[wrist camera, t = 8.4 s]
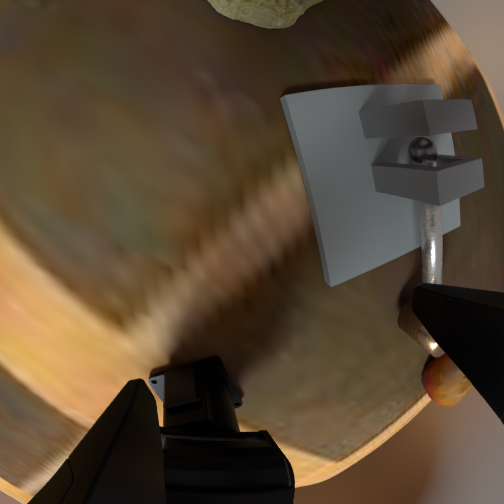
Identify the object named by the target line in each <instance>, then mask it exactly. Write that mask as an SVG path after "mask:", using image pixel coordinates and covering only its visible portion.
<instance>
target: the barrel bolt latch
mask: <svg viewBox="0 0 504 504" xmlns="http://www.w3.org/2000/svg"><path fill="white" fill-rule="evenodd" d="M280 101H281V104H282V107H283V110H284V114H285V117H286V120H287V124H288V127H289V130H290V134H291V137H292V141H293V145H294V148H295V152H296V156H297V159H298V163H299V167H300V171H301V174H302V178H303V182H304V186H305V190H306V194H307V199H308V203H309V207H310V211H311V216H312V220H313V224H314V229H315V233H316V238H317V243H318V248H319V252H320V257H321V262H322V267H323V272H324V278H325V282H326V283H327V284H328V285H329V286H330V287H333V286H335V285H338V284H340V283H342V282H345V281H347V280H349V279H351V278H354V277H356V276H358V275H361V274H363V273H365V272H367V271H369V270H372V269H374V268H376V267H378V266H380V265H383V264H385V263H387V262H389V261H391V260H393V259H395V258H397V257H400V256H402V255H404V254H406V253H408V252H410V251H412V250H414V249H416V248H418V247H420V246H421V229H420V216H419V205H418V201H420V202H424V203H429V204H433V205H436V206H441V211H442V233H443V235H444V234H446V233H447V232H449V231H451V230H453V229H455V228H457V227H459V226H460V204H459V198H461V197H463V196H465V195H467V194H470V193H472V192H474V191H477V190H479V189H481V188H483V187H484V176H483V165H482V158H474V157H464V156H455V154H454V147H453V141H452V136H451V132H458V131H466V130H474V129H477V124H476V119H475V114H474V109H473V105H472V101H471V100H459V99H443V95H442V91H441V88H440V85H434V84H380V85H362V86H350V87H339V88H330V89H322V90H314V91H307V92H301V93H295V94H289V95H284V96H283V97H281V98H280ZM417 137H425V138H428V139H430V140H431V141H432V142H433V143H434V144H435V146H436V148H437V153H438V155H437V160H436V163H437V167H434V166H424V165H413V162H412V161H411V159H410V157H409V153H408V148H409V145H410V143H411V141H412V140H413V139H415V138H417Z"/></svg>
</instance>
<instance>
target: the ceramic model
mask: <svg viewBox="0 0 504 504" xmlns="http://www.w3.org/2000/svg"><path fill="white" fill-rule="evenodd" d="M207 1H208V2H209V3H210V4H211V5H212V6H213V7H214V8H215V9H216V11H217V12H219V13H221V14H223V15H224V16H227V17H229V18H231V19H236V20H240V21H242V22H247V23H251V24H253V25H255V26H260V27H264V28H269V29H272V28H273V29H276V28H278V29H280V28H288V27H290V26H292V25H294V24H295V22H296V21H297V19H298V17H299V16H300V15H303V14H304V12H305V10H307V9H308V8H309V7H311V6H312V5H315V4H317V3H319V2H321V1H323V0H207Z"/></svg>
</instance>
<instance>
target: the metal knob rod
mask: <svg viewBox="0 0 504 504" xmlns="http://www.w3.org/2000/svg"><path fill="white" fill-rule="evenodd" d="M408 153H409V157H410V159H411V161H412V162H413V165H424V166H434V167H437V163H436V160H437V155H438V153H437V148H436V146H435V144H434V143H433V142H432V141H431V140H430V139H428V138H425V137H417V138H415V139H413V140H412V141H411V143H410V145H409V148H408ZM418 205H419V216H420V229H421V249H422V283H432V284H440V285H442V267H443V233H442V211H441V206H436V205H433V204H429V203H424V202H420V201H418ZM412 300H413V298H411V299H409V300H408V301H407V302H406V303H405V304H404V306H403V307H402V309H401V311H400V313H399V316H398V326H399V327H400V328H401V329H402V330H403V331H404V332H405V333H407V334H408V335H409V336H410V337H411V338H413V339H414V340H415V341H416V342H417V343H418V344H420V345H421V346H422V347H423V348H424V349H425V350H427V351H428V352H429V353H430V354H431V355H432V356H434V357H440V356H442V355H443V354H444V353H445V352H444V351H443V350H442V349H441V348H440V347H439V346H438V344H437V343H436V342H435V341H434V339H433V338H432V337H431V335H430V334H429V333H428V331H427V330H426V329H425V327H424V326H423V325H422V323H421V322H420V321H419V320H418V318H417V317H416V316H415V314H414V313H413V310H412Z"/></svg>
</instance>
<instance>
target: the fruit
mask: <svg viewBox="0 0 504 504" xmlns="http://www.w3.org/2000/svg"><path fill="white" fill-rule="evenodd" d="M421 381H422V384H423V386H424V388H425V390H426V392H427V394H428V395H429V397H430V398H431V399H432V400H433V401H434V402H436V403H438V404H440V405H443V406H453V405H455V404H457V403H458V402H460V401H461V399H462V398H463V397H464V396H465V395H466V394H467V393H468V391H469V389H470V388H471V386H472V384H471V382H470V381H469V380H468V379H467V378H466V376H465V375H464V374H463V373H462V372H461V371H460V369H459V368H458V367H457V366H456V365H455V364H454V363H453V361H452V360H451V359H450V358H449V357H448V356H447V355H446V353H444V354H443V355H442V356H440V357H435V358H434V359H433V360H432V361H430V362H429V363H428V364H427V366H426V367H425V369H424V372H423V375H422V379H421Z"/></svg>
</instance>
